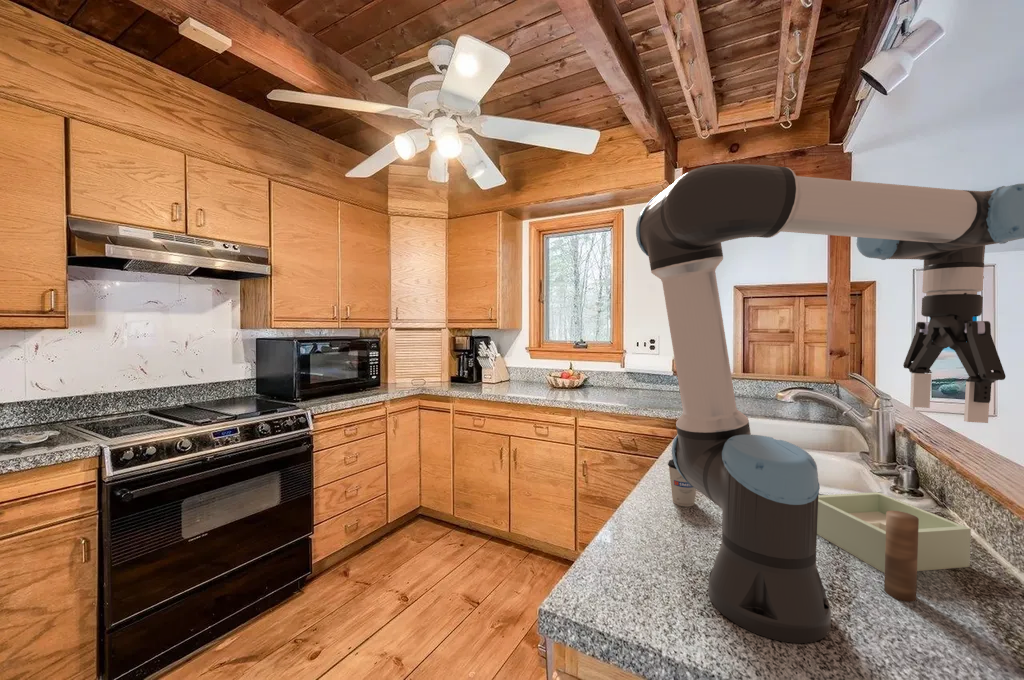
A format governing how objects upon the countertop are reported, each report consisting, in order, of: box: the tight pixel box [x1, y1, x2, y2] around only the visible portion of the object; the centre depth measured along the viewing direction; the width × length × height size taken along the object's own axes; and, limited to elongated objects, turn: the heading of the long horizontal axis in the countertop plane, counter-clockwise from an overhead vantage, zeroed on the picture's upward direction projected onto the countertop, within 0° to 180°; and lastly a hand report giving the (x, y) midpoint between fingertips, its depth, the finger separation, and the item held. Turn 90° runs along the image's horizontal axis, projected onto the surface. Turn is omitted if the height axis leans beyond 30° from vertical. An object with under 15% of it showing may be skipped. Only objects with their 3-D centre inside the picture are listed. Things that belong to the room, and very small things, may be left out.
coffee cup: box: [667, 458, 697, 508], centre depth 99 cm, size 7×7×10 cm
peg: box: [883, 511, 919, 603], centre depth 65 cm, size 4×4×12 cm
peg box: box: [817, 491, 972, 574], centre depth 79 cm, size 16×16×6 cm
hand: (945, 414), depth 77 cm, fingers open, 13 cm apart
